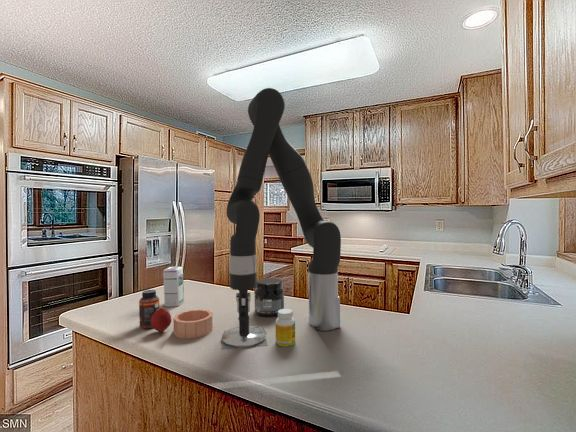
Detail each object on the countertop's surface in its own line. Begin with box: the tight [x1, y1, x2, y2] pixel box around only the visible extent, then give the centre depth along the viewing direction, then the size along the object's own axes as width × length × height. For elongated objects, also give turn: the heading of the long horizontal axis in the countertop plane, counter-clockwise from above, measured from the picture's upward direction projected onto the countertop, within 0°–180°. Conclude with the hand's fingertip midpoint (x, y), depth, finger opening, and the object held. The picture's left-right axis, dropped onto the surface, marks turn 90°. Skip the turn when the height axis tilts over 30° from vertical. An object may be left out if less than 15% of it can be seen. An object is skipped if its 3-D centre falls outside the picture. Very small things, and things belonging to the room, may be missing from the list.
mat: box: [221, 327, 268, 350], centre depth 86 cm, size 12×12×1 cm
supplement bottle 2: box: [274, 308, 296, 348], centre depth 83 cm, size 5×5×10 cm
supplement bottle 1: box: [138, 289, 160, 330], centre depth 98 cm, size 6×6×11 cm
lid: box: [221, 315, 267, 349], centre depth 86 cm, size 12×12×6 cm
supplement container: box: [253, 277, 285, 318], centre depth 107 cm, size 10×10×12 cm
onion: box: [151, 305, 172, 333], centre depth 93 cm, size 6×6×8 cm
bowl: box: [172, 308, 214, 339], centre depth 92 cm, size 11×11×6 cm
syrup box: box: [162, 266, 185, 307], centre depth 120 cm, size 6×6×14 cm
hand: (243, 328), depth 86 cm, fingers open, 8 cm apart
